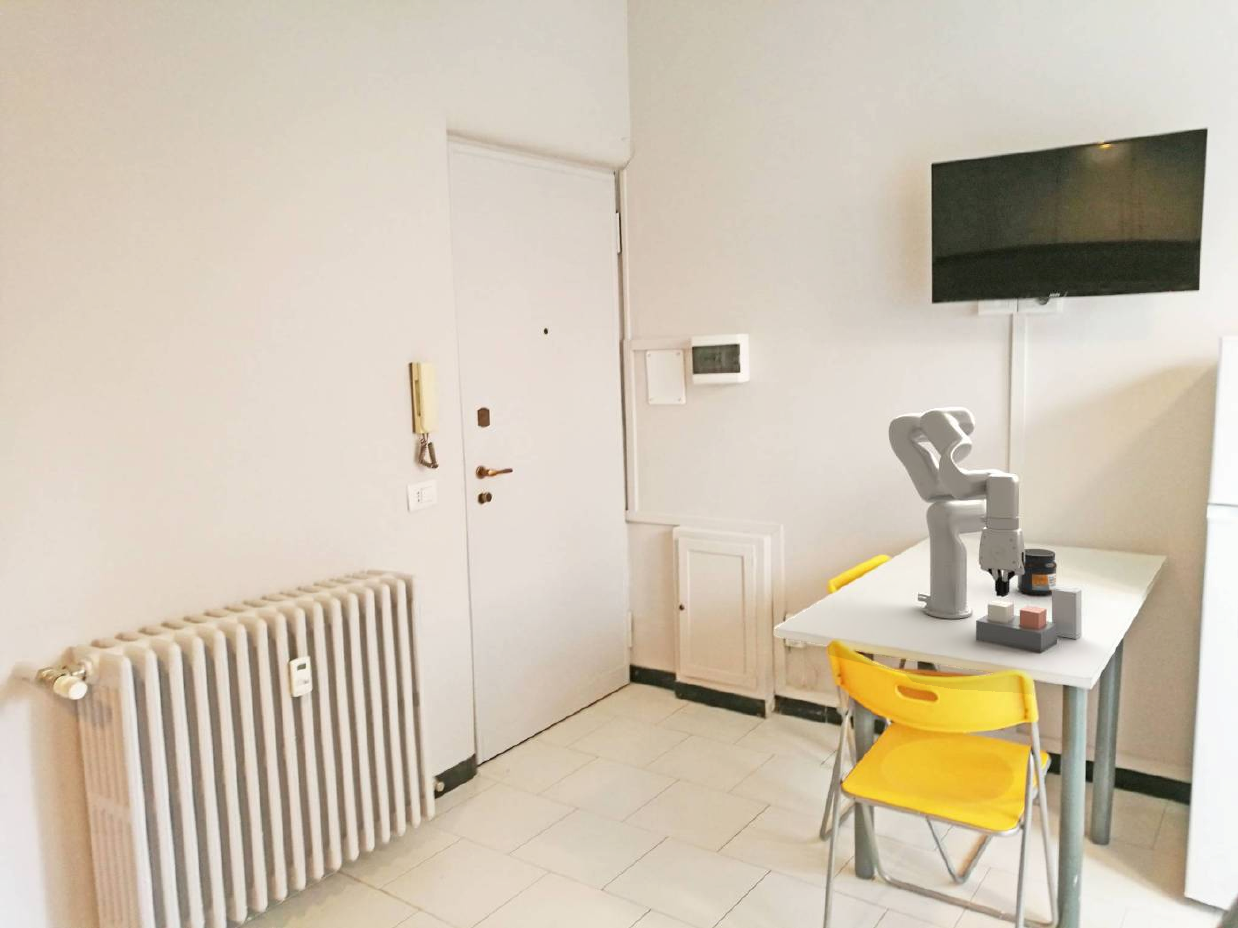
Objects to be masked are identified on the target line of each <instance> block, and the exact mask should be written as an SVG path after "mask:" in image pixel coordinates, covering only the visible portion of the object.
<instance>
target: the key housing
mask: <svg viewBox="0 0 1238 928" xmlns="http://www.w3.org/2000/svg"><path fill="white" fill-rule="evenodd" d="M1019 625H1020V615H1016V614H1015V615H1014V620H1012V621H1010V622H1008V623H1002V622H996V621H991V620H988V614H987V615H985V616H983V617H980V618H978V619H977V620H976V621H975V640H976V641H979V642H984V643H989V642H990V644H993V643H994V645H999V646H1004V647H1008V648H1013V649H1017V650H1023V651H1027V652H1031V653H1032V652H1033V653H1037V654H1042V653H1044V652H1046V651H1047V650H1048V649H1050V648H1052V647H1053V646H1055V645H1056V644H1058V636H1057V633H1058V623H1053V622H1052V621H1047V620H1046V626H1045V627H1043V628H1041V629H1040V630H1038V629H1033V628H1027V627H1022V626H1019Z"/></svg>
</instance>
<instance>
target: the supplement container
mask: <svg viewBox="0 0 1238 928" xmlns="http://www.w3.org/2000/svg"><path fill="white" fill-rule="evenodd" d="M1055 560H1056V553H1055V552H1054V551H1053V550H1050V549H1049V550H1048V549H1045V548H1043V549H1042V548H1025V566H1024V571H1025V573H1024V574H1023V575H1017V584H1016V585H1017V590H1018V591H1019V592H1020V593H1022V594H1026V595H1029V596H1038V597H1039V596H1043V597H1044V596H1045V597H1046V596H1050V595H1051V596H1052V590H1053V589H1054V588H1055V587H1057V567H1058V564H1057V562H1056V561H1055Z"/></svg>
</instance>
